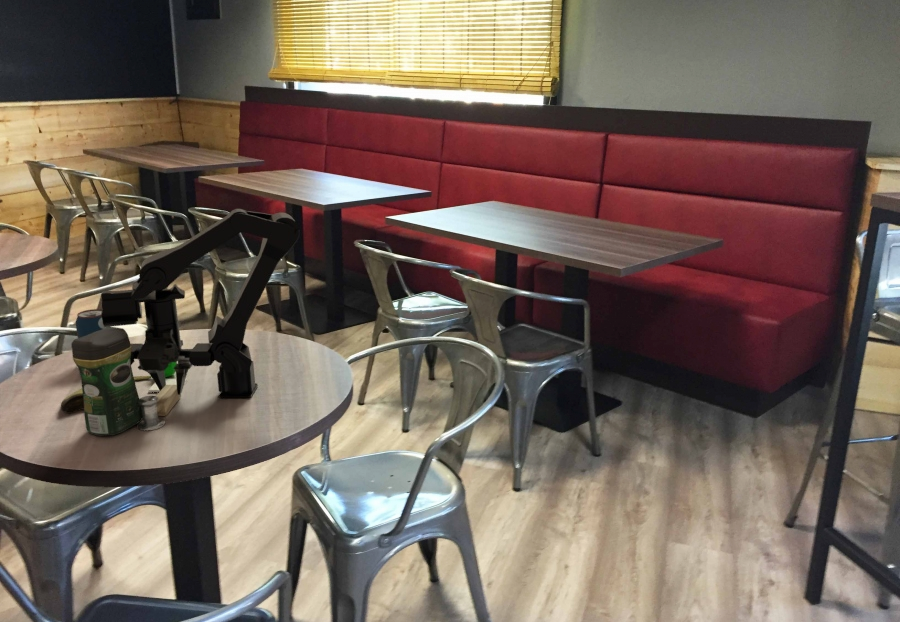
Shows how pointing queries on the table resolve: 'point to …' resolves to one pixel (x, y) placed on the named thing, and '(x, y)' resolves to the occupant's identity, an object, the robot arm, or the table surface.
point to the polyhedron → (170, 369)
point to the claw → (76, 398)
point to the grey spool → (149, 414)
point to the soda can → (89, 322)
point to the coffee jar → (107, 381)
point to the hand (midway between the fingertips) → (171, 394)
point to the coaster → (168, 382)
